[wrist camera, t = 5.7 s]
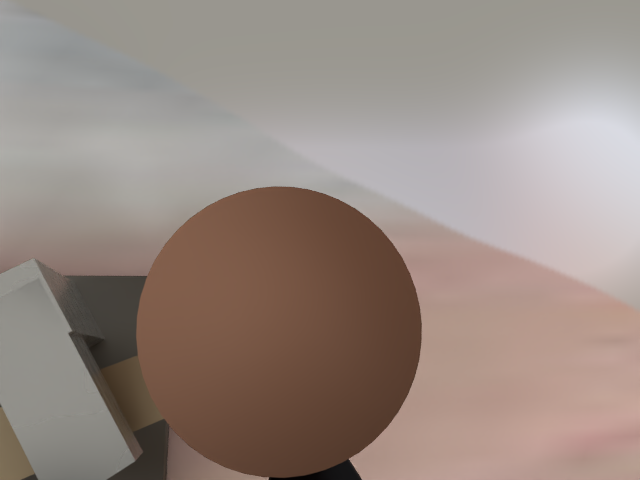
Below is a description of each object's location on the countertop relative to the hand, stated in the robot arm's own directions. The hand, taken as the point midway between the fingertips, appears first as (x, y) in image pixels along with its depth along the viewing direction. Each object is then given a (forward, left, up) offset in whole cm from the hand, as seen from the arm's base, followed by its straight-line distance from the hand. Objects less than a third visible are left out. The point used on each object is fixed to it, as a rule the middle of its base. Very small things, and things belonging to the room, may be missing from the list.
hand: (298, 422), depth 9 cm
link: (-4, +3, -5) cm, 8 cm away
